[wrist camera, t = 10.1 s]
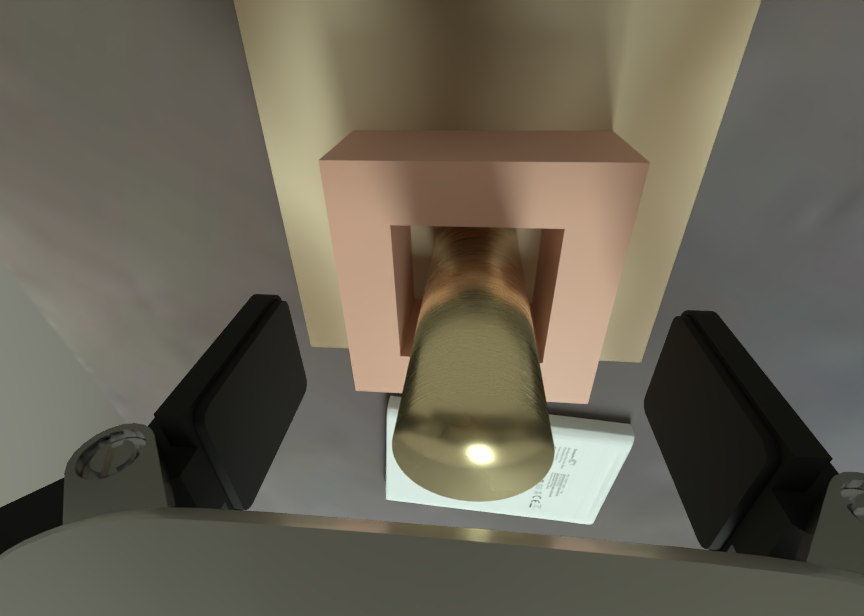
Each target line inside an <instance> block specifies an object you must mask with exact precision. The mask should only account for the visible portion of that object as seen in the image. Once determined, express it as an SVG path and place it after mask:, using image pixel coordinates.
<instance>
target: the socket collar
mask: <svg viewBox="0 0 864 616" xmlns="http://www.w3.org/2000/svg"><path fill="white" fill-rule="evenodd" d="M318 161H319V167H320V173H321V179H322V185H323V192H324V198H325V204H326V210H327V216H328V222H329V228H330V235H331V241H332V247H333V253H334V259H335V265H336V271H337V278H338V284H339V290H340V296H341V302H342V308H343V314H344V321H345V327H346V333H347V339H348V345H349V351H350V357H351V364H352V370H353V376H354V382H355V388H356V391H371V392H389V393H402V392H403V387H404V382H405V378H406V373H407V369H408V364H409V359H410V355H411V350H412V345H413V341H414V336H415V332H416V327H417V322H418V318H419V313H420V308H421V304H422V299H414V283H413V263H412V242H411V226H450V227H497V228H542V233H541V241H540V248H539V256H538V263H537V271H536V278H535V286H534V293H533V301H532V303H529V305H530V311H531V317H532V322H533V328H534V334H535V339H536V345H537V351H538V356H539V362H540V368H541V373H542V379H543V385H544V390H545V396H546V402H563V403H581V404H588V400H589V397H590V393H591V389H592V385H593V381H594V377H595V374H596V370H597V366H598V362H599V358H600V354H601V350H602V347H603V343H604V339H605V335H606V331H607V327H608V324H609V320H610V316H611V312H612V308H613V304H614V301H615V297H616V293H617V289H618V285H619V281H620V277H621V274H622V270H623V266H624V262H625V258H626V254H627V251H628V247H629V243H630V239H631V235H632V231H633V228H634V224H635V220H636V216H637V212H638V208H639V204H640V201H641V197H642V193H643V189H644V185H645V181H646V178H647V174H648V170H649V166H650V162H649V161H648V160H647V159H645V158H644V157H643V156H642V155H641V154H640V153H638V152H637V151H636V150H635V149H634V148H633V147H631V146H630V145H629V144H628V143H627V142H626V141H624V140H623V139H622V138H621V137H620V136H619V135H617V134H616V133H615V132H614V131H494V130H353V131H352V132H351V133H349V134H348V135H347V136H346V137H345V138H344V139H343V140H341V141H340V142H339V143H338V144H337V145H336V146H334V147H333V148H332V149H331V150H330V151H329V152H327V153H326V154H325V155H324V156H323V157H322V158H320V159H319V160H318Z"/></svg>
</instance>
